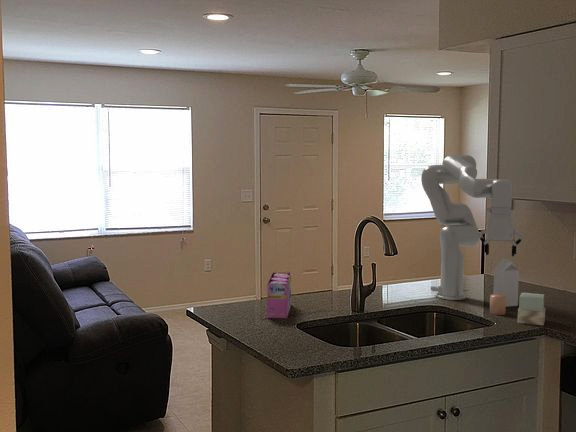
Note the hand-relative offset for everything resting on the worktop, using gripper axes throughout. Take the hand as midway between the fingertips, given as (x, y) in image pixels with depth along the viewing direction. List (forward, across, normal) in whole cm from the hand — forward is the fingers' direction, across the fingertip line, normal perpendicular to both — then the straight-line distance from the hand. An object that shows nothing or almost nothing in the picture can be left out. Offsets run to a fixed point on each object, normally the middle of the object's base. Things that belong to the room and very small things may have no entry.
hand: (500, 255), depth 257 cm
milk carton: (+23, 0, +16) cm, 28 cm away
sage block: (+19, +12, -7) cm, 24 cm away
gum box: (+23, -79, -34) cm, 89 cm away
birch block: (+24, +13, -7) cm, 28 cm away
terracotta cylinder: (+23, -1, 0) cm, 23 cm away
